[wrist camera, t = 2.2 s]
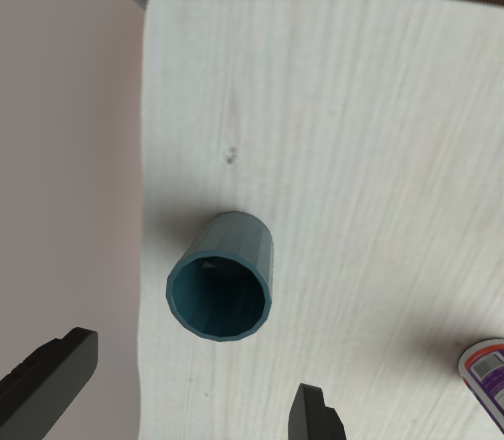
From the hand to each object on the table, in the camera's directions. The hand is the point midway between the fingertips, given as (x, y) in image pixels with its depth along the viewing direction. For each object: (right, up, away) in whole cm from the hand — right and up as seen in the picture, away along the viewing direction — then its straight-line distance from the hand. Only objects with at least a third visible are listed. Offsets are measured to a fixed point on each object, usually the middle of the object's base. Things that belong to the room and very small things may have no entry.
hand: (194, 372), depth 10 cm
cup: (+1, +4, +11) cm, 11 cm away
